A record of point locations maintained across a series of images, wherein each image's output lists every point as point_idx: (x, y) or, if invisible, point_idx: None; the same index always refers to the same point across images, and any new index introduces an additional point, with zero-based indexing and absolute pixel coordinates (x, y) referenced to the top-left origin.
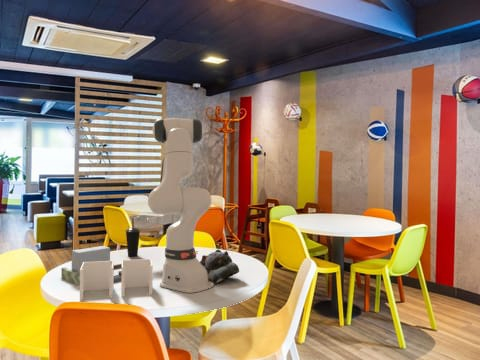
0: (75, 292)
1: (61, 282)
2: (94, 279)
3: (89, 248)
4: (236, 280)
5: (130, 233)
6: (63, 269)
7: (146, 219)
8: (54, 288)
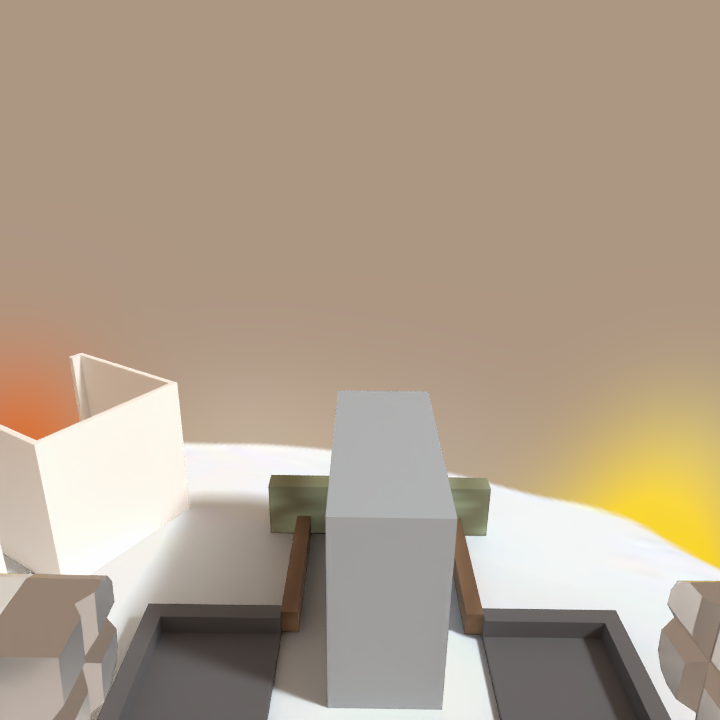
0: (195, 485)
1: None
2: (139, 486)
3: (416, 443)
4: None
5: None
6: (461, 481)
7: (89, 580)
8: (320, 465)
